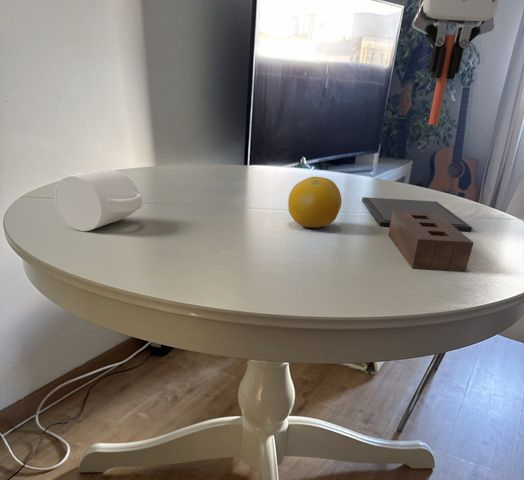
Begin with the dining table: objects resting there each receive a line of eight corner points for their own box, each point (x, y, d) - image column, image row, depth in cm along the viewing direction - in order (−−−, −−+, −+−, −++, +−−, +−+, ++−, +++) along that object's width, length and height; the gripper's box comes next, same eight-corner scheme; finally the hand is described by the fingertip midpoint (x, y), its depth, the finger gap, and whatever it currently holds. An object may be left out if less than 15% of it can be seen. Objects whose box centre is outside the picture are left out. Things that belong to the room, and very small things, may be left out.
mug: (54, 227, 73) (45, 172, 69) (90, 214, 81) (84, 164, 77) (124, 237, 70) (118, 180, 66) (154, 223, 78) (151, 171, 74)
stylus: (436, 124, 77) (453, 35, 71) (438, 125, 76) (457, 34, 70) (427, 124, 77) (444, 35, 71) (429, 124, 76) (447, 34, 70)
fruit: (287, 231, 78) (291, 180, 74) (285, 219, 85) (289, 172, 81) (341, 234, 78) (348, 183, 74) (335, 222, 85) (340, 174, 81)
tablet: (436, 205, 103) (436, 201, 103) (471, 231, 84) (472, 226, 83) (361, 200, 103) (362, 196, 103) (379, 226, 84) (380, 221, 83)
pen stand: (431, 237, 79) (437, 213, 77) (465, 271, 64) (473, 242, 62) (388, 235, 79) (392, 210, 77) (412, 268, 64) (418, 239, 62)
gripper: (423, -91, 61) (396, 75, 70) (544, -85, 61) (503, 81, 70) (408, -74, 68) (386, 76, 76) (518, -68, 68) (483, 81, 76)
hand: (442, 77), depth 73 cm, fingers closed on stylus, 1 cm apart
